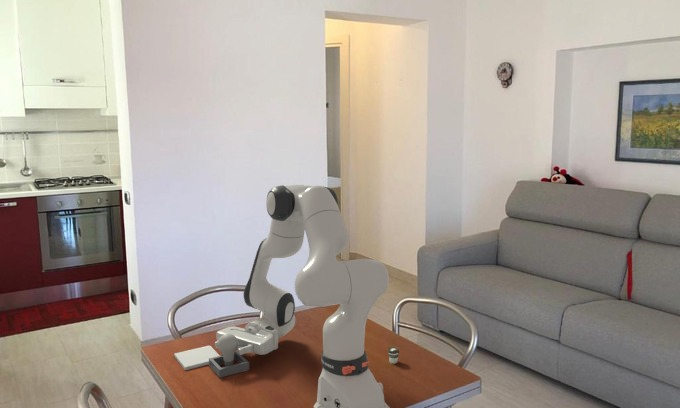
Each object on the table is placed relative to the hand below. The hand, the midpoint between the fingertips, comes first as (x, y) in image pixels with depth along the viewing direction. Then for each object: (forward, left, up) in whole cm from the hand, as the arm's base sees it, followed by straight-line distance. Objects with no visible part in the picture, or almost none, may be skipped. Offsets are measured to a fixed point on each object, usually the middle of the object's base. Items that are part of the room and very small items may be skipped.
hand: (227, 348), depth 173 cm
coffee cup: (-24, -45, -7) cm, 52 cm away
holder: (0, 0, -7) cm, 7 cm away
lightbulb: (0, 0, -7) cm, 7 cm away
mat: (+12, +6, -7) cm, 15 cm away
